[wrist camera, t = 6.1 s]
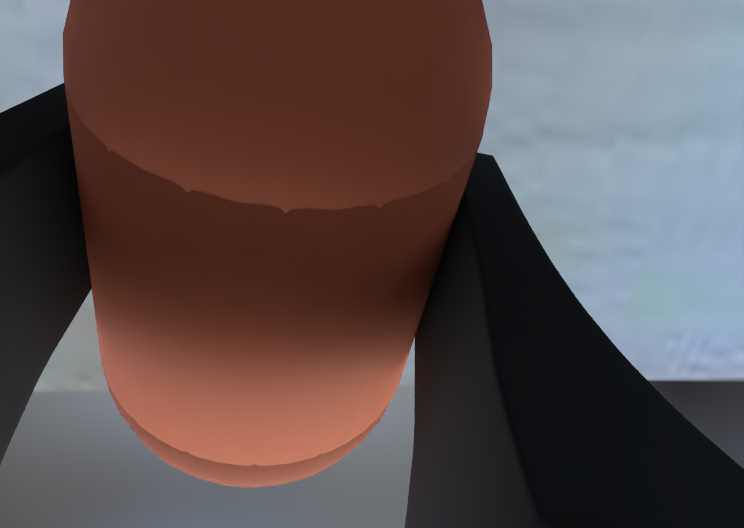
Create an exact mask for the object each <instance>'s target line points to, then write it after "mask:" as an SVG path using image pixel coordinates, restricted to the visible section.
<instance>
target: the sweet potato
mask: <svg viewBox="0 0 744 528" xmlns="http://www.w3.org/2000/svg"><path fill="white" fill-rule="evenodd" d="M63 71H64V83H65V92H66V99H67V107H68V114H69V122H70V129H71V136H72V144H73V151H74V159H75V166H76V174H77V181H78V189H79V196H80V204H81V211H82V219H83V226H84V234H85V241H86V249H87V256H88V264H89V271H90V279H91V286H92V294H93V301H94V309H95V316H96V324H97V331H98V339H99V346H100V354H101V361H102V367H103V370H104V374H105V377H106V381H107V384H108V387H109V390H110V393H111V395H112V397H113V399H114V401H115V404H116V406H117V408H118V410H119V412H120V414H121V416H122V417H123V418H124V419H125V421H126V422H127V423H128V424H129V426H130V427H131V428H132V429H133V431H134V432H135V433H136V434H137V436H138V437H139V438H140V439H141V441H142V442H143V443H144V444H145V445H146V447H147V448H149V449H150V450H151V451H152V452H154V453H155V454H156V455H158V456H159V457H160V458H161V459H163V460H164V461H165V462H166V463H168V464H170V465H171V466H173V467H175V468H177V469H179V470H181V471H183V472H185V473H187V474H189V475H191V476H194V477H197V478H200V479H204V480H207V481H211V482H214V483H218V484H221V485H230V486H239V487H262V486H274V485H282V484H285V483H289V482H293V481H296V480H300V479H304V478H307V477H310V476H312V475H314V474H316V473H318V472H320V471H322V470H324V469H326V468H328V467H330V466H332V465H334V464H335V463H336V462H337V461H339V460H340V459H341V458H343V457H344V456H345V455H347V454H348V453H349V452H350V451H352V450H353V449H354V448H355V447H356V446H357V445H359V444H360V443H361V442H362V441H363V440H364V439H365V438H366V437H367V435H368V434H369V433H370V432H371V430H373V428H374V427H375V426H376V425H377V424H378V422H379V421H380V420H381V417H382V416H383V414H384V412H385V410H386V408H387V406H388V404H389V403H390V401H391V399H392V397H393V395H394V394H395V392H396V390H397V387H398V384H399V381H400V378H401V376H402V373H403V370H404V367H405V364H406V361H407V358H408V355H409V352H410V349H411V346H412V343H413V340H414V337H415V334H416V331H417V328H418V325H419V322H420V319H421V316H422V313H423V310H424V307H425V304H426V302H427V299H428V296H429V293H430V290H431V287H432V284H433V281H434V278H435V275H436V272H437V269H438V266H439V263H440V260H441V257H442V254H443V251H444V248H445V245H446V242H447V239H448V236H449V233H450V231H451V228H452V225H453V222H454V219H455V216H456V213H457V210H458V207H459V204H460V201H461V198H462V195H463V192H464V189H465V186H466V183H467V180H468V177H469V174H470V171H471V168H472V165H473V162H474V160H475V157H476V154H477V151H478V148H479V145H480V142H481V139H482V136H483V129H484V125H485V120H486V116H487V111H488V106H489V101H490V95H491V88H492V44H491V39H490V35H489V30H488V26H487V21H486V17H485V12H484V7H483V3H482V0H71V1H70V5H69V10H68V14H67V18H66V23H65V27H64V32H63Z"/></svg>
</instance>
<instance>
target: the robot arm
mask: <svg viewBox="0 0 744 528" xmlns="http://www.w3.org/2000/svg"><path fill="white" fill-rule="evenodd" d="M91 289H92V286H91V279H90V271H89V264H88V256H87V249H86V241H85V234H84V226H83V219H82V211H81V204H80V196H79V189H78V181H77V174H76V166H75V159H74V151H73V144H72V136H71V129H70V122H69V114H68V107H67V99H66V92H65V83H63V84H61V85H58V86H56V87H54V88H52V89H50V90H48V91H46V92H44V93H42V94H39V95H37V96H35V97H33V98H31V99H29V100H27V101H25V102H23V103H21V104H18V105H16V106H14V107H12V108H10V109H8V110H6V111H4V112H1V113H0V464H1V462H2V459H3V457H4V454H5V452H6V450H7V447H8V445H9V443H10V441H11V438H12V436H13V434H14V431H15V429H16V427H17V425H18V423H19V421H20V418H21V416H22V414H23V412H24V410H25V407H26V405H27V403H28V401H29V398H30V396H31V394H32V392H33V390H34V388H35V386H36V383H37V381H38V379H39V377H40V375H41V373H42V372H43V370H44V368H45V366H46V364H47V362H48V360H49V359H50V357H51V355H52V353H53V351H54V350H55V348H56V346H57V345H58V343H59V341H60V340H61V338H62V337H63V335H64V333H65V332H66V330H67V328H68V327H69V325H70V323H71V322H72V320H73V318H74V317H75V315H76V313H77V312H78V310H79V308H80V307H81V305H82V303H83V302H84V300H85V298H86V297H87V295H88V293H89V292H90V290H91ZM405 528H744V469H743V468H742V467H741V466H739V465H738V464H737V463H736V462H735V461H734V460H732V459H731V458H730V457H729V456H728V455H727V454H726V453H724V452H723V451H722V450H721V449H720V448H719V447H717V446H716V445H715V444H714V443H713V442H712V441H711V440H709V439H708V438H707V437H706V436H705V435H704V434H703V433H701V432H700V431H699V430H698V429H697V428H696V427H694V425H692V424H691V423H690V422H689V421H688V420H687V419H686V418H685V417H684V416H683V415H682V414H681V413H680V412H679V411H677V410H676V409H675V408H674V407H673V406H672V405H671V404H670V403H669V402H668V401H667V400H666V399H665V398H664V397H663V396H662V395H661V394H660V393H659V392H658V391H657V390H656V389H655V388H654V387H653V386H652V385H651V384H650V383H649V382H648V381H647V380H646V379H645V378H644V377H643V376H642V375H641V374H640V373H639V371H638V370H637V369H636V368H635V367H634V366H633V365H632V364H631V363H630V362H629V361H628V360H627V359H626V358H625V356H624V355H623V354H622V353H621V352H620V351H619V350H618V349H617V348H616V346H615V345H614V344H613V343H612V342H611V340H610V339H609V338H608V337H607V336H606V334H605V333H604V332H603V331H602V330H601V328H600V327H599V326H598V325H597V323H596V322H595V321H594V320H593V319H592V317H591V316H590V315H589V314H588V313H587V311H586V310H585V309H584V307H583V306H582V305H581V303H580V302H579V301H578V299H577V298H576V297H575V295H574V294H573V293H572V291H571V290H570V288H569V287H568V285H567V284H566V282H565V281H564V279H563V278H562V277H561V275H560V274H559V272H558V271H557V269H556V268H555V266H554V265H553V263H552V262H551V260H550V259H549V257H548V255H547V254H546V252H545V250H544V249H543V247H542V245H541V244H540V242H539V240H538V239H537V237H536V235H535V233H534V232H533V230H532V228H531V227H530V225H529V223H528V221H527V220H526V218H525V216H524V214H523V212H522V210H521V208H520V207H519V205H518V203H517V201H516V199H515V197H514V195H513V193H512V191H511V189H510V188H509V186H508V184H507V182H506V180H505V178H504V176H503V174H502V172H501V170H500V168H499V166H498V164H497V162H496V161H495V159H494V157H493V156H491V155H486V154H482V153H477V154H476V157H475V160H474V162H473V165H472V168H471V171H470V174H469V177H468V180H467V183H466V186H465V189H464V192H463V195H462V198H461V201H460V204H459V207H458V210H457V213H456V216H455V219H454V222H453V225H452V228H451V231H450V233H449V236H448V239H447V242H446V245H445V248H444V251H443V254H442V257H441V260H440V263H439V266H438V269H437V272H436V275H435V278H434V281H433V284H432V287H431V290H430V293H429V296H428V299H427V302H426V304H425V307H424V310H423V313H422V316H421V319H420V322H419V325H418V328H417V331H416V334H415V427H414V447H413V459H412V468H411V477H410V486H409V496H408V505H407V515H406V522H405Z"/></svg>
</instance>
